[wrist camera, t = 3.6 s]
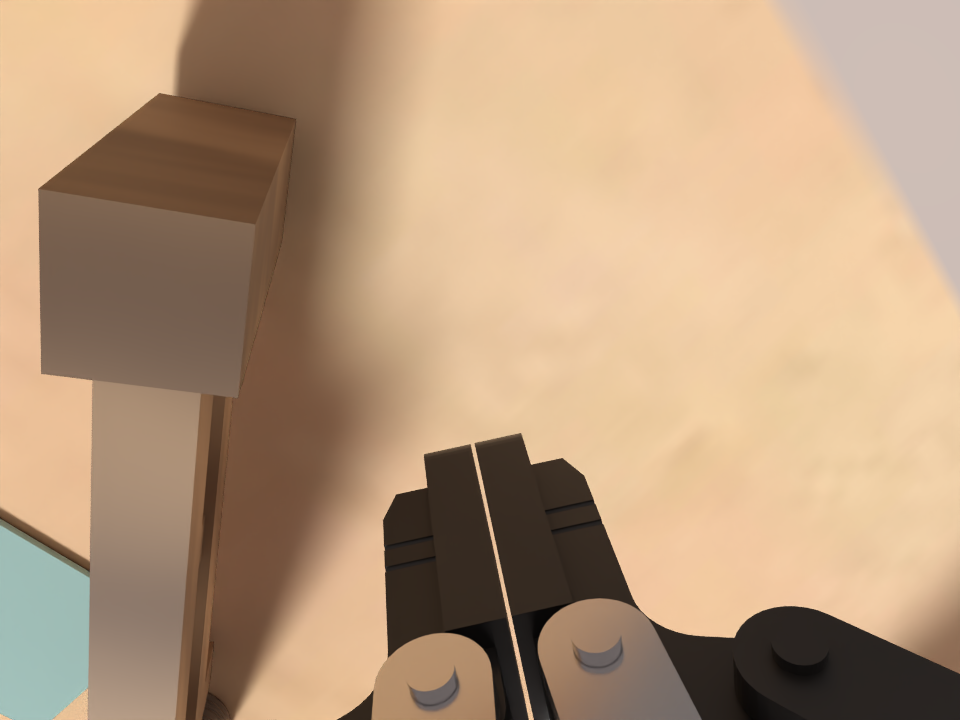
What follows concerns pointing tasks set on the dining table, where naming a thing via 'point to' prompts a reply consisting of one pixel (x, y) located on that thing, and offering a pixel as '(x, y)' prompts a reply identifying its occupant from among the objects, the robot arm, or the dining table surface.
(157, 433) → the gate
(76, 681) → the open mat
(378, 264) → the dining table surface
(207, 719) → the gatepost
